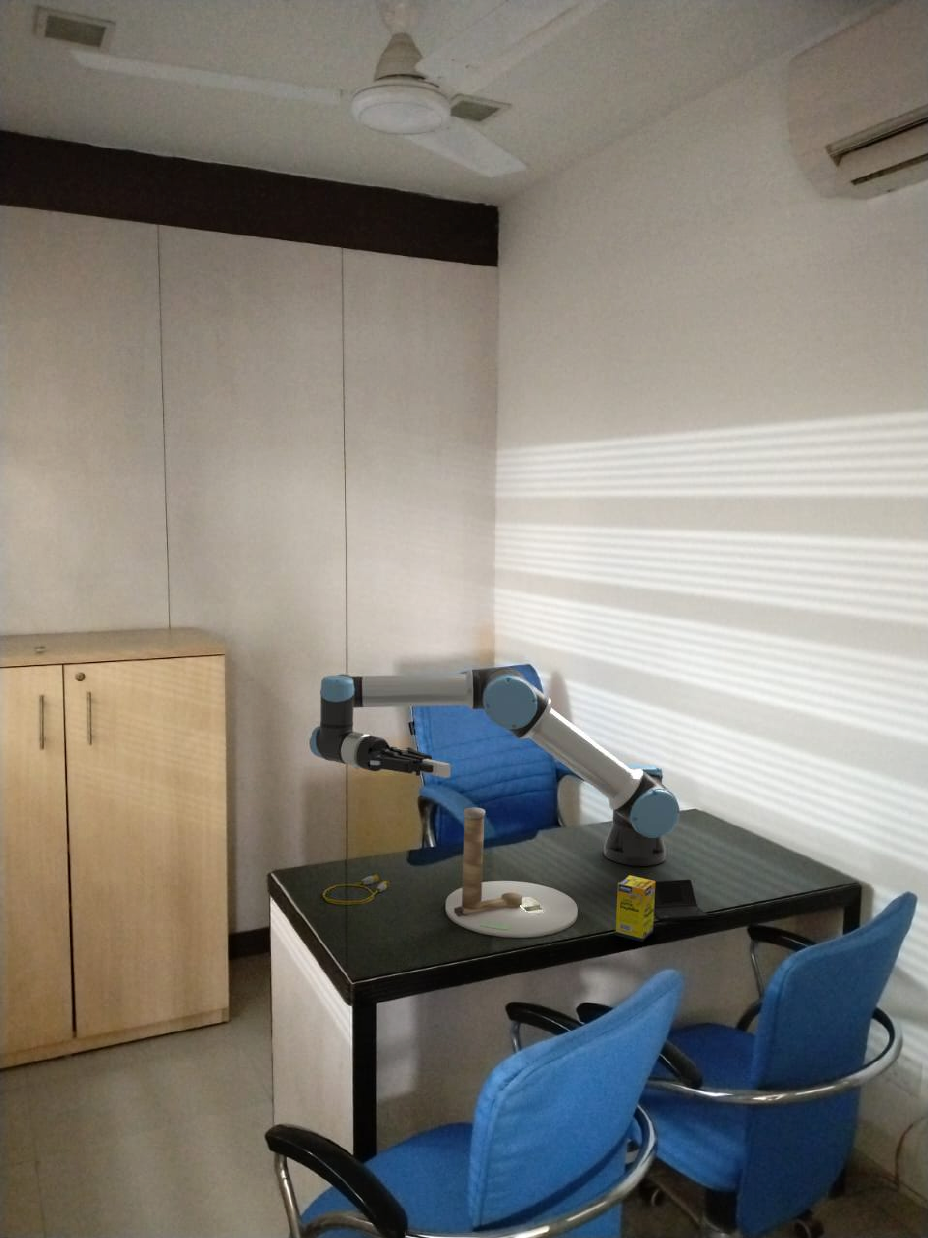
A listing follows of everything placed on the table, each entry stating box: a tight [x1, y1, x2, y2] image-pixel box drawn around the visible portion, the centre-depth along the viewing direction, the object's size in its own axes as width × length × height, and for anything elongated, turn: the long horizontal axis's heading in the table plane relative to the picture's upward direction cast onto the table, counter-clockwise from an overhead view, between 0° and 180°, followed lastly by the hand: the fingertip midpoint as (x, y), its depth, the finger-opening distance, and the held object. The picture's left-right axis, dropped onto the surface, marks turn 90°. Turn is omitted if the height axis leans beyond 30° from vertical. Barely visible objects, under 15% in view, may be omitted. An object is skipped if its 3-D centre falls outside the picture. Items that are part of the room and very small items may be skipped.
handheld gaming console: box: [654, 879, 708, 923], centre depth 214 cm, size 12×7×10 cm
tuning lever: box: [454, 807, 522, 915], centre depth 208 cm, size 16×4×21 cm, turn 121°
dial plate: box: [445, 880, 579, 939], centre depth 213 cm, size 28×28×1 cm
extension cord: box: [322, 874, 390, 906], centre depth 220 cm, size 12×16×2 cm
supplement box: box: [614, 875, 657, 943], centre depth 202 cm, size 6×6×11 cm
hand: (447, 771), depth 209 cm, fingers closed
